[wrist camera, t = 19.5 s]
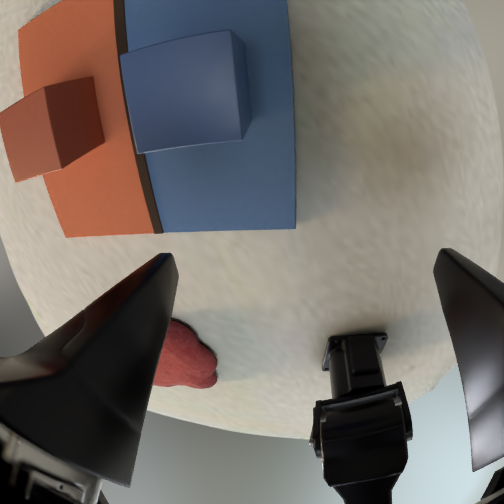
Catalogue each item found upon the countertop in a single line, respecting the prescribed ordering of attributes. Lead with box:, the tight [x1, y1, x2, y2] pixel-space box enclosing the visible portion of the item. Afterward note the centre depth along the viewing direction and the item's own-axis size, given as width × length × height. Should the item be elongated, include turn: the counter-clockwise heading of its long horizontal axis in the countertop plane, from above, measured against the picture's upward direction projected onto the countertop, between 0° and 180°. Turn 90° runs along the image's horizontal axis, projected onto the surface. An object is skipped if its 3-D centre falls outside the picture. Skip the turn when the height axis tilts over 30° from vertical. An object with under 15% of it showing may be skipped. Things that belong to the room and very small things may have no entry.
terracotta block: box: [0, 76, 105, 183], centre depth 13 cm, size 5×5×5 cm
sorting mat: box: [18, 0, 296, 238], centre depth 15 cm, size 20×20×1 cm
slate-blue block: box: [120, 29, 252, 154], centre depth 12 cm, size 5×5×5 cm
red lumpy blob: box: [153, 320, 217, 389], centre depth 31 cm, size 18×14×2 cm
